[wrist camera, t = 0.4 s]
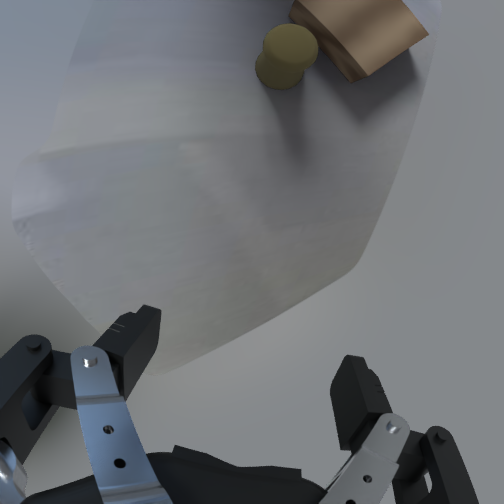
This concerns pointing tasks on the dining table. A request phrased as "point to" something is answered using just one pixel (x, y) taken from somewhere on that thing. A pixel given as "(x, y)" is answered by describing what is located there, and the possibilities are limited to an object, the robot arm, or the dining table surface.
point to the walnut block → (359, 31)
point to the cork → (286, 56)
